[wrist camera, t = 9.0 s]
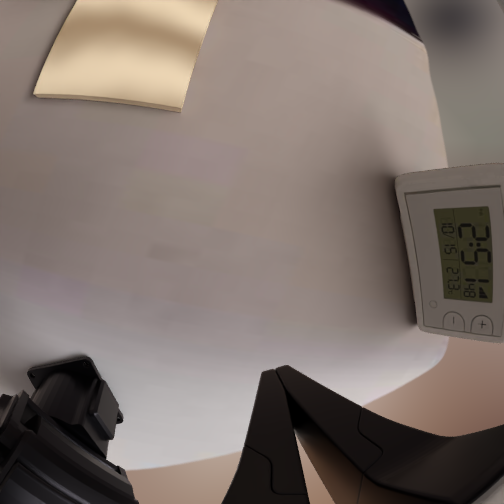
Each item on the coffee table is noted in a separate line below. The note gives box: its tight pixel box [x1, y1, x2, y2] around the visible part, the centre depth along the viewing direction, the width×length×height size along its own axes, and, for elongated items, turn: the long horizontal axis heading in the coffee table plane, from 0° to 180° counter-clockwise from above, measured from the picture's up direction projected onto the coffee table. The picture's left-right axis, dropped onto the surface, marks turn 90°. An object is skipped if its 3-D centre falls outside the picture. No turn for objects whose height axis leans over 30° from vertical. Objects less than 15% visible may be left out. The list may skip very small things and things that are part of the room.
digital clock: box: [395, 163, 504, 343], centre depth 20 cm, size 16×9×11 cm, turn 9°
